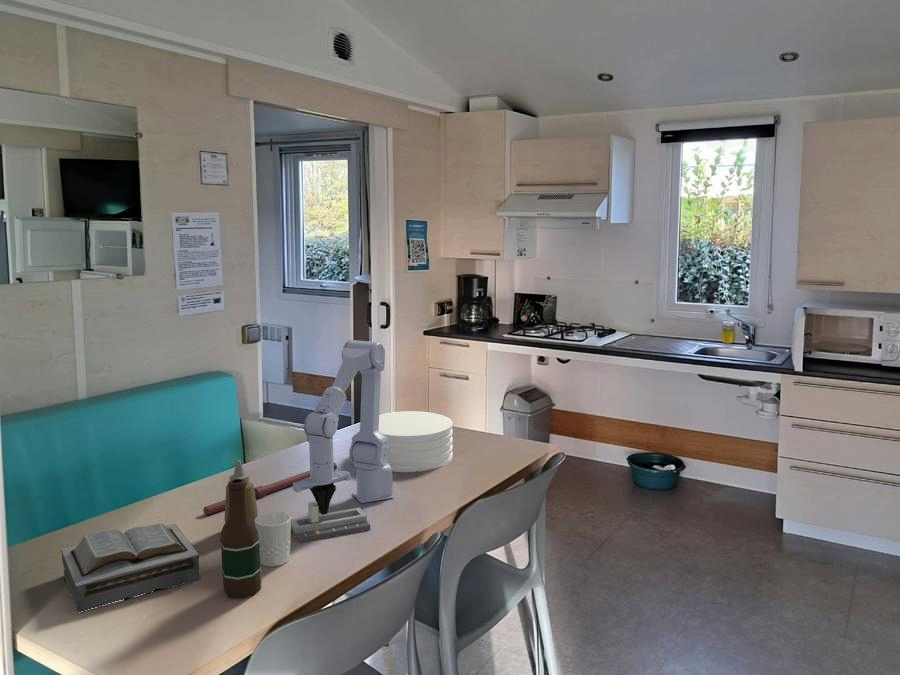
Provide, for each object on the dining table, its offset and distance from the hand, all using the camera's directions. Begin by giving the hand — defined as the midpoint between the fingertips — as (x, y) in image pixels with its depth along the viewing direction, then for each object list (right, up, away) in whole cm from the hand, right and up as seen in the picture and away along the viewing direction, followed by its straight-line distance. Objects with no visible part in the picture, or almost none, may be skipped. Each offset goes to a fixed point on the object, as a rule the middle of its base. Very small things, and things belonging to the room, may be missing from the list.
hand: (323, 513), depth 187 cm
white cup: (-8, -7, -16) cm, 19 cm away
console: (+1, -4, +1) cm, 4 cm away
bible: (-37, -9, -24) cm, 45 cm away
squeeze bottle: (-20, -4, -1) cm, 20 cm away
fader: (-2, -3, -1) cm, 4 cm away
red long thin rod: (-18, 0, +26) cm, 31 cm away
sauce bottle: (-12, -9, -30) cm, 33 cm away
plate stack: (+18, +5, +55) cm, 58 cm away
